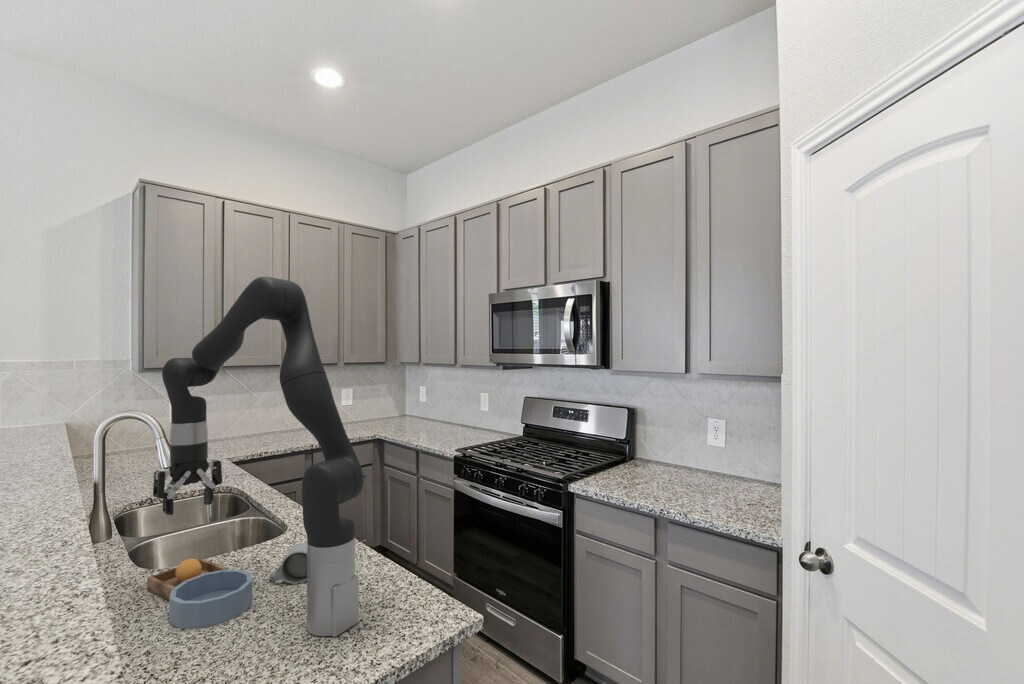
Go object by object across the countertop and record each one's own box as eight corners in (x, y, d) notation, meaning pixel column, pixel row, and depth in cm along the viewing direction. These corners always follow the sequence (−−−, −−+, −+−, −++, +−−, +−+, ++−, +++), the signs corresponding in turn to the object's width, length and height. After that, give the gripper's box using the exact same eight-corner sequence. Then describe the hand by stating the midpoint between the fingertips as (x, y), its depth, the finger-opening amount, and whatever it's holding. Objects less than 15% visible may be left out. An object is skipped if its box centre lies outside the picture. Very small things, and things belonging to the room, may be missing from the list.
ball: (206, 579, 116) (206, 557, 116) (182, 588, 112) (182, 566, 112) (194, 574, 119) (194, 553, 119) (170, 583, 114) (170, 561, 114)
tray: (228, 581, 118) (228, 568, 118) (174, 603, 107) (174, 590, 107) (201, 570, 123) (201, 558, 124) (147, 590, 113) (147, 577, 113)
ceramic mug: (318, 567, 125) (317, 537, 125) (314, 582, 117) (314, 550, 117) (273, 573, 122) (272, 543, 122) (266, 589, 114) (265, 556, 114)
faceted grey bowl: (266, 601, 108) (266, 578, 108) (194, 636, 95) (194, 610, 95) (227, 585, 115) (227, 564, 115) (155, 615, 102) (155, 591, 102)
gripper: (164, 447, 108) (163, 521, 108) (228, 437, 120) (228, 503, 120) (147, 444, 112) (147, 515, 111) (211, 435, 124) (211, 499, 124)
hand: (189, 509), depth 116 cm, fingers open, 8 cm apart
